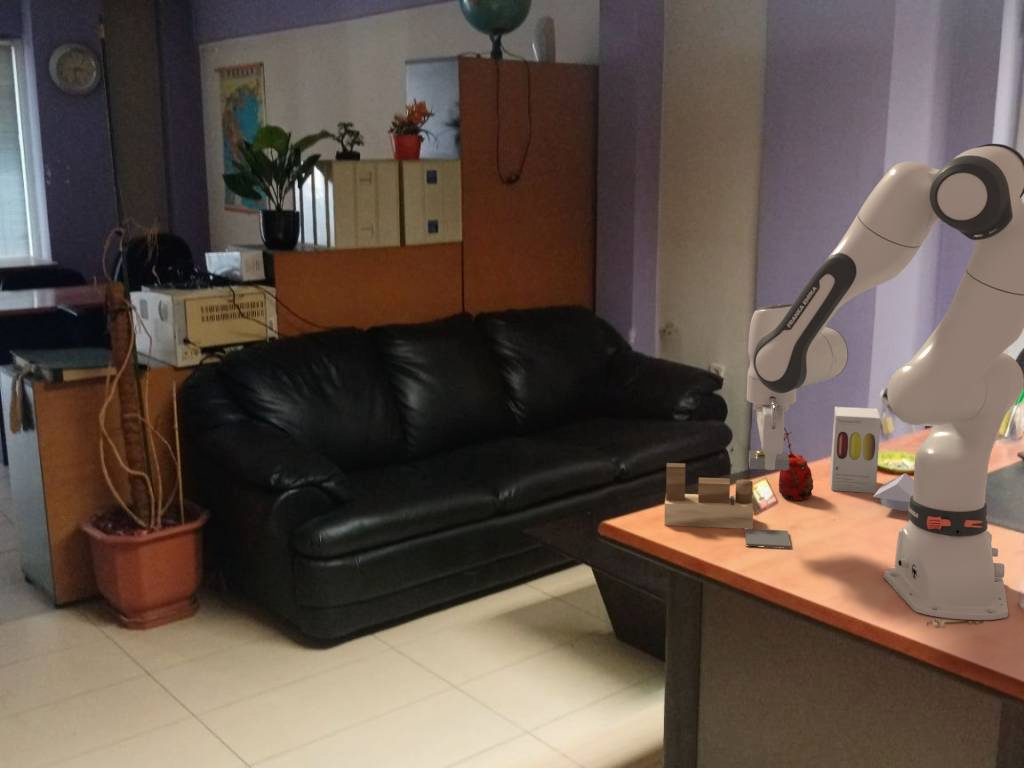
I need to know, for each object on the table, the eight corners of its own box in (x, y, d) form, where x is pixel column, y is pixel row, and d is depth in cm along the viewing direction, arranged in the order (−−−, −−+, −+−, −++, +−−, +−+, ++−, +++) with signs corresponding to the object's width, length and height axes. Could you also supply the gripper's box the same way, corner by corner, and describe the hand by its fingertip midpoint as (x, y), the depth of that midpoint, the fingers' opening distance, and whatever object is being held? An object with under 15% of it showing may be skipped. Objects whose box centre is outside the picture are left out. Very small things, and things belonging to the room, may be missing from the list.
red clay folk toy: (806, 504, 213) (808, 434, 210) (772, 499, 216) (774, 430, 213) (816, 494, 219) (818, 426, 216) (783, 489, 223) (786, 422, 220)
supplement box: (830, 491, 221) (833, 415, 217) (829, 478, 230) (832, 405, 226) (877, 493, 218) (881, 417, 215) (874, 481, 227) (878, 407, 224)
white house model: (918, 519, 202) (930, 501, 213) (921, 487, 201) (932, 470, 212) (871, 512, 207) (885, 494, 218) (873, 480, 206) (887, 464, 216)
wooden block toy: (752, 528, 199) (754, 472, 197) (664, 525, 202) (664, 469, 200) (751, 517, 205) (752, 462, 203) (665, 514, 209) (666, 460, 206)
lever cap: (788, 470, 187) (789, 456, 187) (749, 468, 189) (750, 455, 188) (786, 462, 192) (787, 448, 191) (748, 460, 193) (749, 447, 193)
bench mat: (790, 548, 189) (790, 545, 188) (746, 546, 190) (746, 543, 190) (787, 533, 196) (787, 530, 196) (745, 531, 198) (745, 528, 198)
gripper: (793, 405, 177) (790, 481, 180) (785, 380, 196) (782, 449, 199) (756, 404, 178) (753, 480, 181) (751, 379, 197) (749, 448, 200)
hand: (768, 463), depth 190 cm, fingers closed on lever cap, 5 cm apart
